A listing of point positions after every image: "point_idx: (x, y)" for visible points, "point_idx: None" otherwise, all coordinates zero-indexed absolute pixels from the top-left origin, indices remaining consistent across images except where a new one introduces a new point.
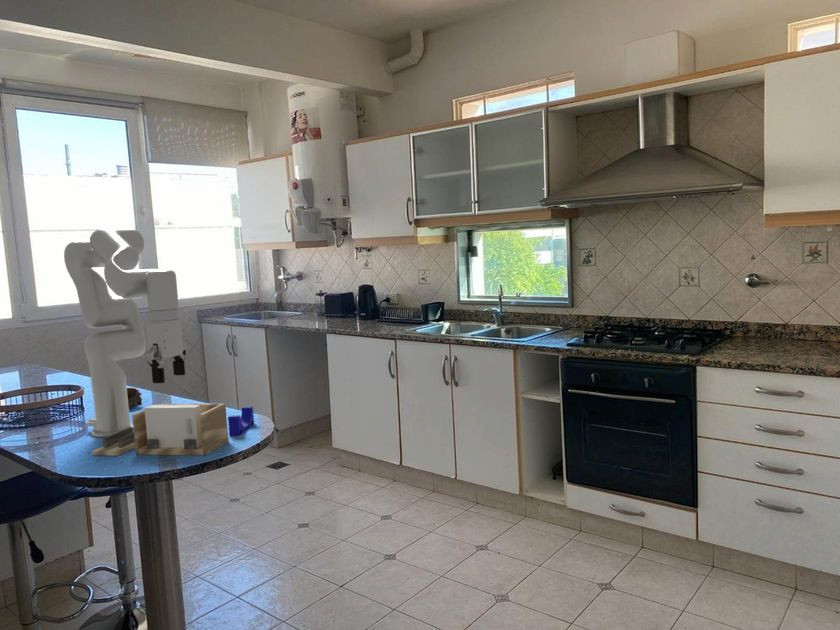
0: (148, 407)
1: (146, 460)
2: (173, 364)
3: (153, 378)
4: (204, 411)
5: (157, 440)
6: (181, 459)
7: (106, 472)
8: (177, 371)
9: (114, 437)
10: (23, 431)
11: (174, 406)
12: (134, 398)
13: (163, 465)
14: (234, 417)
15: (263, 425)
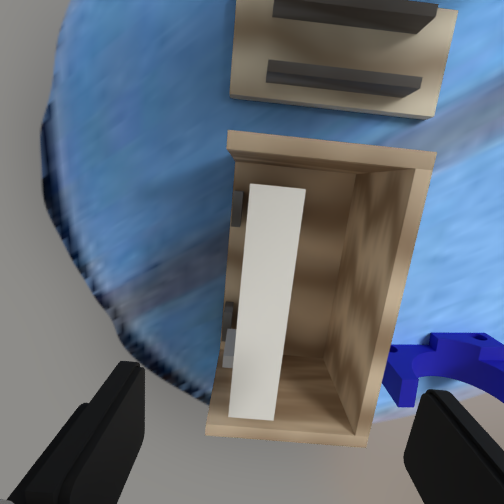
0: (259, 201)
1: (185, 213)
2: (501, 492)
3: (103, 393)
4: (358, 359)
5: (235, 226)
6: (191, 303)
7: (89, 151)
8: (432, 447)
9: (323, 9)
10: None
11: (260, 325)
12: None
13: (147, 279)
14: (398, 396)
15: (462, 393)
